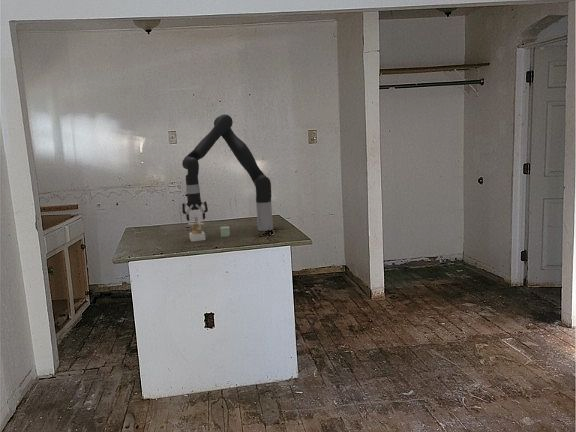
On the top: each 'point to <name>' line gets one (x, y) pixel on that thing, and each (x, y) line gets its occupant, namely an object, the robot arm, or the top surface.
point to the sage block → (225, 231)
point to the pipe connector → (196, 222)
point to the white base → (197, 236)
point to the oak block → (196, 228)
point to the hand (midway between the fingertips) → (196, 220)
